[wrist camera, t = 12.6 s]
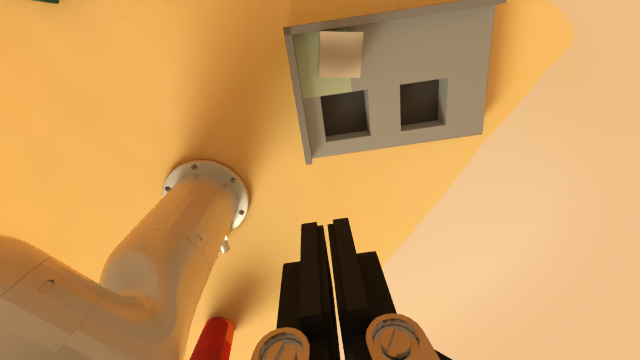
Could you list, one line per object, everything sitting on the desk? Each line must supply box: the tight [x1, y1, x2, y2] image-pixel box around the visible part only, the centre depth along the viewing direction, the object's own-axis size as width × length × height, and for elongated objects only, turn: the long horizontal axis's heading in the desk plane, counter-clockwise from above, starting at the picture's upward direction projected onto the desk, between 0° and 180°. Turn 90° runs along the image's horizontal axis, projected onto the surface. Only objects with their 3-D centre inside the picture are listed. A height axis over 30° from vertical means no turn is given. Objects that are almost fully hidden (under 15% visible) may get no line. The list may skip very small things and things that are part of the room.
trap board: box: [283, 0, 506, 165], centre depth 37 cm, size 16×24×5 cm, turn 98°
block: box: [318, 31, 363, 78], centre depth 33 cm, size 4×4×4 cm
